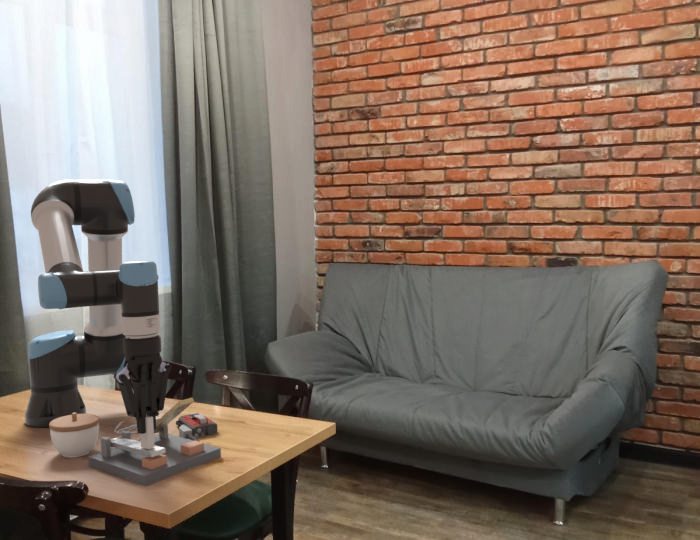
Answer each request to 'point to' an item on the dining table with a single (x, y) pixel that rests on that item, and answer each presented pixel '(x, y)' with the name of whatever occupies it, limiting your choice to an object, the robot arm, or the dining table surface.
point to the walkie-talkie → (195, 426)
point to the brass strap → (172, 414)
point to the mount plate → (150, 476)
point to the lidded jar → (74, 434)
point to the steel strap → (135, 447)
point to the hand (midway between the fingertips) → (147, 447)
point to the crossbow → (128, 427)
